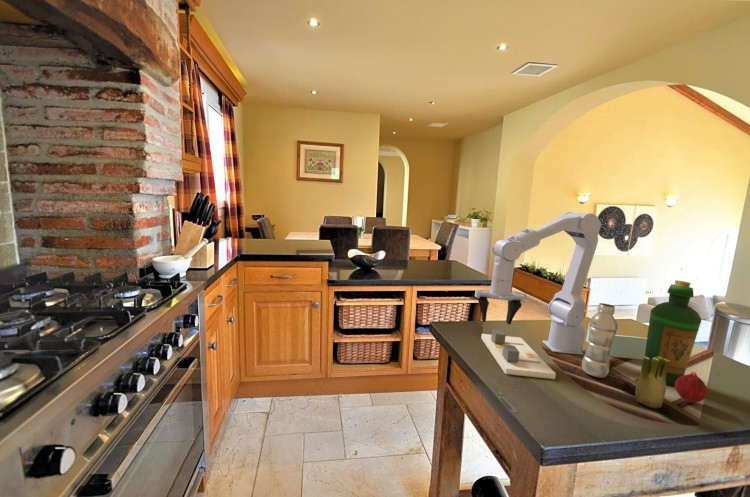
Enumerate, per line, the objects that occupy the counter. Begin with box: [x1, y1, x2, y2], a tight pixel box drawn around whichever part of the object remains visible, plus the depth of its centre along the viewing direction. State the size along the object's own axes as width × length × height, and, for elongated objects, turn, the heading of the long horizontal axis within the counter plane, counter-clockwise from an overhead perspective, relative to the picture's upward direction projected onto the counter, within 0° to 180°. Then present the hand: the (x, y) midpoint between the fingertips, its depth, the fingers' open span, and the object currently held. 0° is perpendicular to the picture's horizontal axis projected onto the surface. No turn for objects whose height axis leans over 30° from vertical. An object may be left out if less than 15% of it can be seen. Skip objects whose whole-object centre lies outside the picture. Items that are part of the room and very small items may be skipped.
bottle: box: [645, 280, 702, 386], centre depth 94 cm, size 11×11×28 cm
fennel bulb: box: [634, 356, 670, 410], centre depth 81 cm, size 6×5×12 cm
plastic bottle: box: [581, 303, 619, 379], centre depth 93 cm, size 6×7×20 cm
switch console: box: [480, 333, 557, 380], centre depth 102 cm, size 13×24×2 cm, turn 178°
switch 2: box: [502, 345, 519, 362], centre depth 96 cm, size 3×4×3 cm
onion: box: [674, 370, 708, 404], centre depth 83 cm, size 6×6×8 cm
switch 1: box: [490, 328, 507, 344], centre depth 107 cm, size 3×4×3 cm
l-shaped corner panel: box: [585, 321, 647, 361], centre depth 114 cm, size 12×12×8 cm
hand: (495, 321), depth 105 cm, fingers open, 7 cm apart
